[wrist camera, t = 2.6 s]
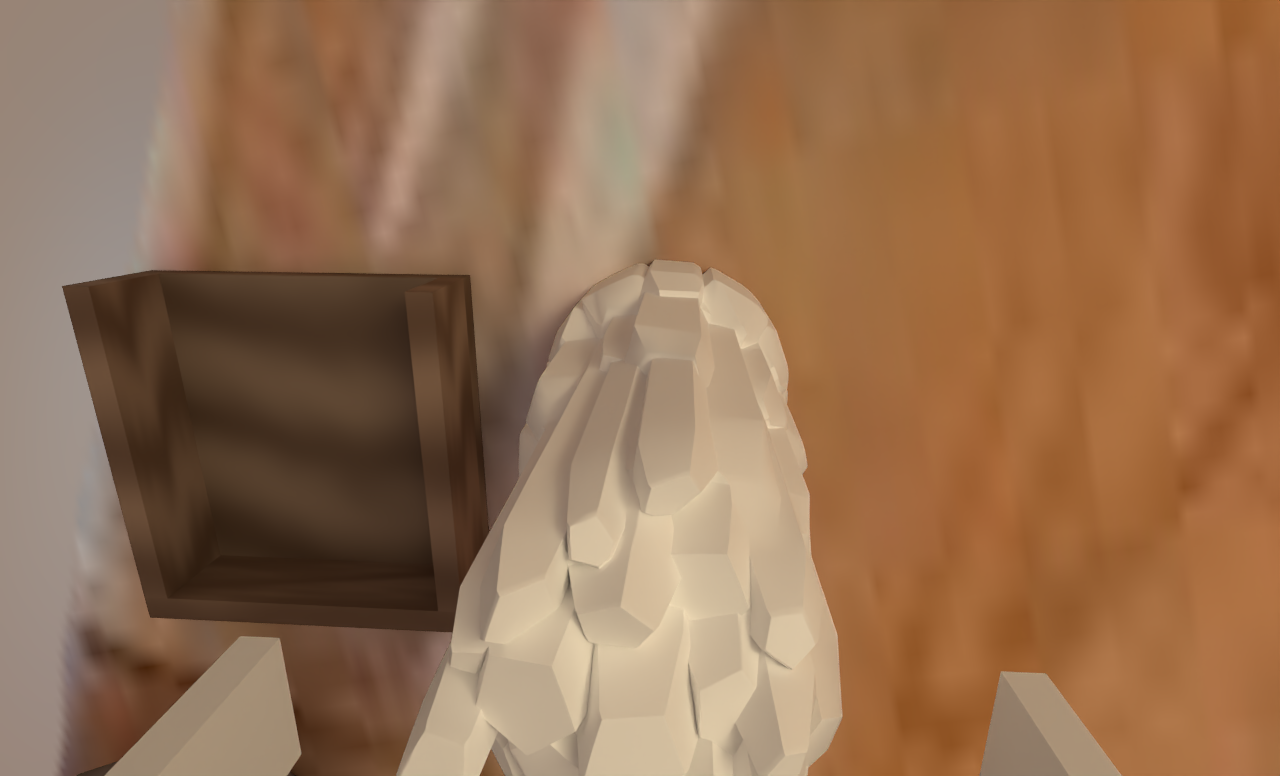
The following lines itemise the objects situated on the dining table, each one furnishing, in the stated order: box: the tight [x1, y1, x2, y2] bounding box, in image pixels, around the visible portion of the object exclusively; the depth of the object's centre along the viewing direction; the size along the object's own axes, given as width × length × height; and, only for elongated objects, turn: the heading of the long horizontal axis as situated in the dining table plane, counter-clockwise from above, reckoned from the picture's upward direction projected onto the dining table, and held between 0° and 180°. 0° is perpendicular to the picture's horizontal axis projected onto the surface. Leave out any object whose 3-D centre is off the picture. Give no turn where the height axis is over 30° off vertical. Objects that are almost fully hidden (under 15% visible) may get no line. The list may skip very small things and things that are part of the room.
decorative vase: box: [396, 259, 842, 776], centre depth 21 cm, size 11×11×25 cm
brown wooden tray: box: [62, 270, 489, 632], centre depth 33 cm, size 17×16×5 cm
